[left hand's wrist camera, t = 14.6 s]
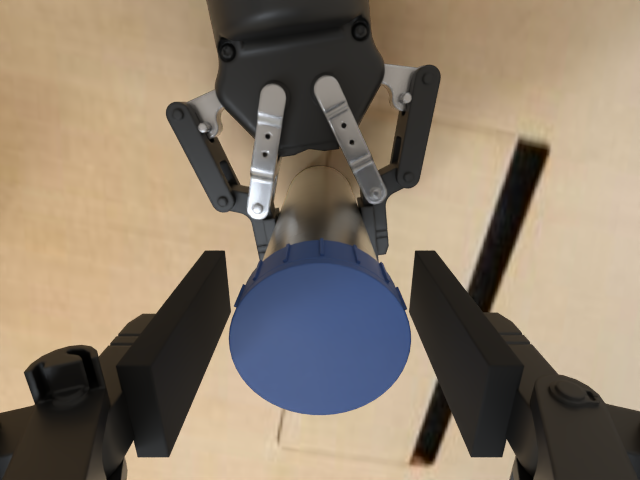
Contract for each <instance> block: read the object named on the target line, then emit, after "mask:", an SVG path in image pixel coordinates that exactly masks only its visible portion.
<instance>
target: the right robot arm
mask: <svg viewBox="0 0 640 480" xmlns="http://www.w3.org/2000/svg"><path fill="white" fill-rule="evenodd" d="M207 5H208V10H209V15H210V19H211V24H212V29H213V33H214V38H215V43H216V48H217V52H218V57H219V70H218V75H217V78H216V82H215V90H213V91H210V92H208V93H206V94H204V95H202V96H200V97H197V98H195V99H193V100H191V101H189V102H173V103H171V104H170V105H169V106H168V107H167V109H166V116H167V119H168V121H169V123H170V125H171V127H172V129H173V131H174V133H175V135H176V136H177V138H178V140H179V142H180V144H181V146H182V148H183V150H184V152H185V154H186V156H187V157H188V159H189V161H190V163H191V165H192V167H193V169H194V171H195V173H196V175H197V177H198V178H199V180H200V182H201V184H202V186H203V188H204V190H205V192H206V194H207V196H208V198H209V199H210V201H211V203H212V205H213V207H214V208H215V209H216V210H217V211H219V212H228V211H233V212H238V213H242V214H244V215H246V216H247V217H248V218H249V219H250V220H251V222H252V226H253V231H254V236H255V240H256V245H257V250H258V254H259V259H260V260H262V261H263V258H264V255H265V252H266V250H267V247H268V244H269V241H270V239H271V236H272V233H273V230H274V228H275V225H276V222H277V219H278V217H279V214H280V212H279V208H275V207H274V197H275V191H276V185H277V179H278V174H279V170H280V165H281V159H282V157H284V156H292V155H296V154H298V153H300V152H303V151H305V150H307V149H314V150H322V151H327V150H334V149H339V147H341V149H342V151H343V153H344V155H345V158H346V160H347V162H348V164H349V166H350V168H351V170H352V172H353V174H354V176H355V178H356V180H357V182H358V184H359V186H360V195H361V197H359V198H357V201H358V209H359V211H360V214H361V217H362V220H363V222H364V225H365V228H366V231H367V233H368V236H369V239H370V242H371V244H372V247H373V250H374V253H375V255H376V258H377V261H378V255H383V254H386V252H387V249H388V246H389V245H388V232H387V219H386V201H387V199H388V198H389V196H390V195H391V194H393V193H395V192H397V191H399V190H401V189H403V188H412V187H414V186H415V185H416V184H417V183H418V182H419V179H420V175H421V170H422V165H423V160H424V155H425V151H426V146H427V141H428V136H429V132H430V127H431V122H432V117H433V112H434V108H435V103H436V98H437V93H438V88H439V84H440V78H441V77H440V72H439V70H438V69H437V68H436V67H435V66H433V65H425V66H420V67H418V68H414V67H406V66H398V65H390V64H384V61H383V58H382V56H381V55H380V53H379V52H378V50H377V48H376V46H375V44H374V41H373V38H372V33H371V23H370V10H369V0H207ZM380 85H382V86H384V87H385V88H386V89H387V90H388V92H389V102H390V105H391V107H392V108H393V109H395V110H398V111H399V115H398V120H397V126H396V132H395V137H394V143H393V149H392V154H391V160H390V165H388V166H386V167H384V168H382V169H380V170H377V168H376V165H375V163H374V161H373V158H372V156H371V153H370V151H369V149H368V147H367V144H366V142H365V140H364V138H363V136H362V134H361V131H360V129H359V127H358V126H359V124H360V122H361V120H362V118H363V117H364V115H365V113H366V111H367V109H368V107H369V106H370V104H371V102H372V100H373V98H374V96H375V95H376V93H377V91H378V89H379V87H380ZM224 109H226V110H227V111H228V112H229V114H230V115H231V116H232V117H233V118H234V119H235V120H236V121H237V122H238V123H239V124H240V125H241V126H242V127H243V128H244V129H245V130H246V131H247V132H248V133H249V134H250V135H251V136H252V137H253V138H254V139H255V142H254V149H253V156H252V163H251V171H250V174H251V180H250V187H247V186H242V185H240V183H239V181H238V179H237V177H236V175H235V173H234V171H233V169H232V167H231V165H230V163H229V160H228V158H227V156H226V154H225V152H224V150H223V148H222V146H221V144H220V142H219V140H218V138H217V136H219V135H220V134H221V132H222V129H223V126H222V122H221V113H222V111H223V110H224Z"/></svg>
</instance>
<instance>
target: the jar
mask: <svg viewBox="0 0 640 480" xmlns="http://www.w3.org/2000/svg"><path fill="white" fill-rule="evenodd" d="M320 238H323V240H329V241H336V242H341V243H345V244H348V245H351V246H353V245H356V246H357V248H358V249H360V250H362V251H364V252H365V253H367V254H369V255H370V256H371V257H373V258H374V259H375V260H377V258H376V255H375V253H374V250H373V247H372V244H371V242H370V239H369V236H368V233H367V231H366V228H365V225H364V222H363V220H362V217H361V214H360V211H359V209H358V206H357V203H356V200H355V198H354V195H353V192H352V189H351V187H350V184H349V182H348V181H347V179H346V178H345V177H344V176H343V175H342V174H341V173H340V172H339V171H337V170H335V169H333V168H330V167H327V166H313V167H310V168H307V169H305V170H303V171H301V172H300V173H299V174H298V175H297V176H296V177H295V178H294V179H293V181H292V182H291V184H290V187H289V189H288V192H287V195H286V198H285V200H284V203H283V206H282V209H281V211H280V214H279V217H278V219H277V222H276V225H275V228H274V230H273V233H272V236H271V239H270V241H269V244H268V247H267V250H266V252H265V255H264V258H263V261H264V260H265V259H266V258H267V257H269V256H270V255H271V254H273V253H274V252H276V251H278V250H280V249H282V248H284V247H286V244H290V245H292V244H295V243H299V242H304V241H311V240H320Z"/></svg>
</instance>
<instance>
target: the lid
mask: <svg viewBox="0 0 640 480" xmlns="http://www.w3.org/2000/svg"><path fill="white" fill-rule="evenodd" d="M234 307H237V308H236V310H235V313H234V315H233V317H232V321H231V325H230V331H229V346H230V352H231V356H232V360H233V362H234V364H235V367H236V369H237V371H238V372H239V374H240V376H241V377H242V379H243V380H244V381H245V382H246V384H247V385H248V386H249V387H250V388H251V389H252V390H253V391H254V392H255V393H257V394H258V395H259V396H261V397H262V398H263V399H265V400H267V401H268V402H270V403H272V404H274V405H276V406H278V407H281V408H283V409H286V410H289V411H293V412H297V413H302V414H310V415H330V414H338V413H343V412H347V411H351V410H354V409H357V408H359V407H362V406H364V405H366V404H368V403H370V402H372V401H373V400H375V399H376V398H378V397H379V396H381V395H382V394H383V393H384V392H386V391H387V390H388V389H389V388H390V387H391V386H392V385H393V384H394V382H395V381H396V380H397V379H398V377H399V376H400V374H401V372H402V371H403V369H404V367H405V364H406V362H407V359H408V356H409V352H410V345H411V331H410V325H409V321H408V318H407V315H406V312H405V310H407V307H406V305H405V303H404V300H403V298H402V295H401V293H400V291H399V288H398V287H396V288H395V285H394V283H393V281H392V279H391V278H390V276H389V274H388V273H387V272H386V270H385V267H384V265H383V263H382V262H380V263H379V262H378V261H377V260H375V259H374V258H373V257H371V256H370V255H369V254H367V253H365V252H364V251H362V250H360V249H358V248H357V246H356V245H353V246H351V245H348V244H345V243H341V242H336V241H329V240H323V238H320V240H311V241H304V242H299V243H295V244H292V245H290V244H286V247H284V248H282V249H280V250H278V251H276V252H274V253H273V254H271V255H270V256H269V257H267V258H266V259H265V260H264V261H262V260H260V261H259V263H258V265H257V268H256V269H255V270H254V271H253V273H252V274H251V276H250V278H249V279H248V281H247V283H246V285H244V284H243V286H242V288H241V290H240V293H239V295H238V298H237V300H236V302H235V305H234Z"/></svg>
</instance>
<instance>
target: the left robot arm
mask: <svg viewBox="0 0 640 480" xmlns="http://www.w3.org/2000/svg"><path fill="white" fill-rule="evenodd" d="M230 313H231V308H230V298H229V288H228V278H227V268H226V258H225V251H204V253H203V254H202V255H201V257H200V258H199V259H198V260H197V262H196V263H195V264H194V266H193V267H192V268H191V269H190V271H189V272H188V273H187V275H186V276H185V277H184V279H183V280H182V281H181V282H180V284H179V285H178V286H177V288H176V289H175V290H174V291H173V293H172V294H171V295H170V297H169V298H168V299H167V300H166V302H165V303H164V304H163V306H162V307H161V308H160V309H159V311H158V312H157V313H156V314H142V315H140V316H139V317H137V318H135V319H134V320H132V321H131V322H129V323H128V324H127V325H126V326H125V327H124V328H123V329H122V331H121V332H120V333H119V334H118V336H116V337H115V339H114V340H113V341H112V342H111V343H110V346H108V347H107V348H106V349H105V350H104V351H103V352H102V354H101V355H100V356H99V357H98V353H97V350H95V349H94V348H93V347H91V346H85V345H76V346H68V347H65V348H61V349H58V350H55V351H52V352H50V353H48V354H46V355H44V356H42V357H40V358H39V359H37V360H36V361H35V362H33V363H32V364H31V365H30V366H29V367H28V368H27V369H26V370H25V372H24V374H25V377H26V380H27V383H28V385H29V388H30V391H31V394H32V397H33V399H34V402H35V405H33V406H30V407H25V408H21V409H16V410H12V411H7V412H3V413H0V480H126V479H127V465H126V460H125V455H126V453H127V451H128V449H129V448H130V446H131V444H132V442H133V440H134V444H135V448H136V452H137V456H138V457H169V456H170V454H171V451H172V449H173V447H174V444H175V442H176V440H177V437H178V435H179V433H180V430H181V428H182V426H183V423H184V421H185V418H186V416H187V414H188V411H189V409H190V407H191V404H192V402H193V400H194V397H195V395H196V393H197V390H198V388H199V386H200V383H201V381H202V379H203V376H204V374H205V372H206V369H207V367H208V364H209V362H210V360H211V357H212V355H213V353H214V350H215V348H216V346H217V343H218V341H219V339H220V336H221V334H222V332H223V329H224V327H225V325H226V322H227V320H228V318H229V315H230ZM409 313H410V315H411V318H412V320H413V322H414V325H415V327H416V329H417V332H418V334H419V336H420V339H421V341H422V343H423V346H424V348H425V350H426V353H427V355H428V357H429V360H430V362H431V365H432V367H433V369H434V372H435V374H436V376H437V379H438V381H439V383H440V386H441V388H442V390H443V393H444V395H445V397H446V400H447V402H448V404H449V407H450V409H451V411H452V414H453V416H454V418H455V421H456V423H457V426H458V428H459V430H460V433H461V435H462V437H463V440H464V442H465V444H466V447H467V449H468V451H469V454H470V456H471V457H502V456H503V452H504V448H505V444H506V439H507V440H508V442H509V444H510V446H511V447H512V449H513V451H514V453H515V455H516V456H515V460H514V464H513V468H512V472H511V476H510V479H509V480H640V411H636V410H631V409H627V408H622V407H618V406H613V405H609V404H605V403H604V401H603V400H602V398H601V397H600V396H599V394H598V393H596V392H595V391H594V390H593V389H591V388H590V387H589V386H587V385H585V384H583V383H582V382H580V381H578V380H576V379H573V378H570V377H567V376H564V375H558V374H557V372H556V371H555V370H554V369H553V368H552V367H551V366H550V364H549V363H548V362H547V361H546V360H545V359H544V358H543V356H542V355H541V354H540V353H539V352H538V351H537V350H536V348H535V347H534V346H533V345H532V344H530V342H529V340H528V339H527V338H526V337H525V336H524V335H522V333H521V331H520V330H519V329H518V328H517V327H516V326H515V325H514V323H513V322H511V321H510V320H508V319H507V318H505V317H504V316H502V315H500V314H499V313H483V312H482V311H481V309H480V308H479V307H478V306H477V304H476V303H475V302H474V300H473V299H472V298H471V297H470V295H469V294H468V293H467V291H466V290H465V289H464V288H463V286H462V285H461V284H460V282H459V281H458V280H457V279H456V277H455V276H454V275H453V273H452V272H451V271H450V269H449V268H448V267H447V266H446V264H445V263H444V262H443V260H442V259H441V258H440V257H439V255H438V254H437V253H436V251H415V258H414V268H413V278H412V288H411V298H410V308H409Z"/></svg>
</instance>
